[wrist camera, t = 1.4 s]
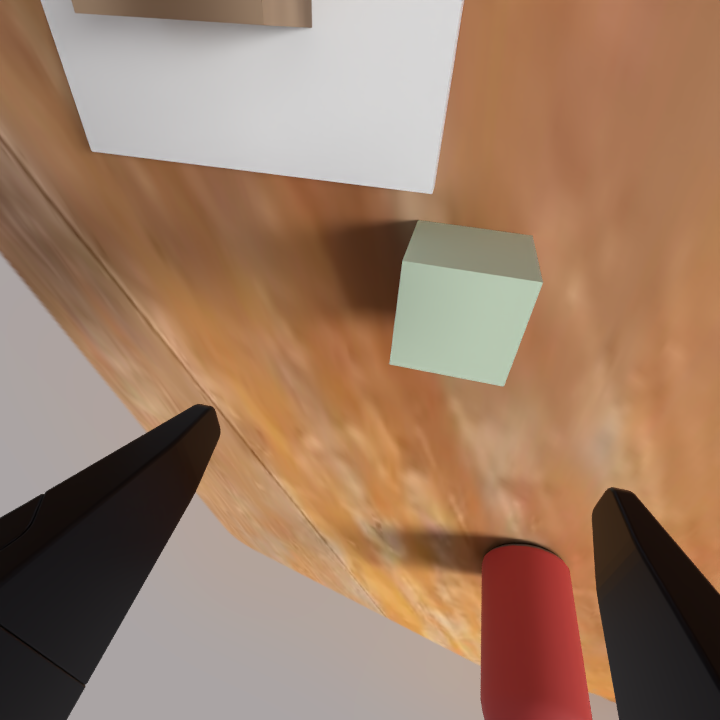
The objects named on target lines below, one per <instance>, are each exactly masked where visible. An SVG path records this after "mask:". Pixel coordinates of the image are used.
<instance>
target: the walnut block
mask: <svg viewBox="0 0 720 720" xmlns="http://www.w3.org/2000/svg"><path fill="white" fill-rule="evenodd" d="M71 1H72V5H73V8H74V11H75V13H81V14H97V15H112V16H128V17H143V18H158V19H174V20H189V21H205V22H220V23H236V24H251V25H267V26H286V27H304V28H312V0H71Z"/></svg>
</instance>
